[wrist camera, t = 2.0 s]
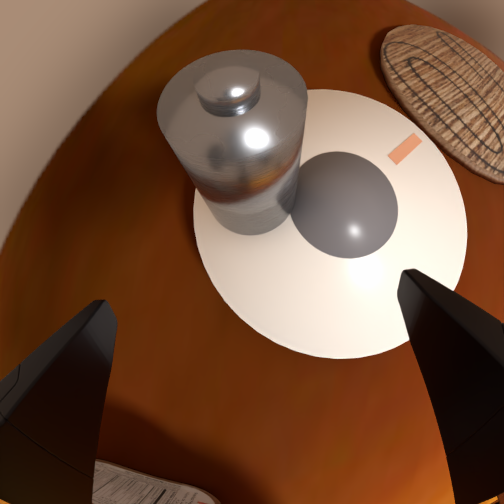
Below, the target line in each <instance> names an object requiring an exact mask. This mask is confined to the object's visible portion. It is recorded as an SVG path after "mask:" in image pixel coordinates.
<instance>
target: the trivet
mask: <svg viewBox="0 0 504 504" xmlns="http://www.w3.org/2000/svg"><path fill="white" fill-rule="evenodd" d="M380 68H381V71H382V73H383V76H384V78H385V81H386V83H387V86H388V88H389V89H390V91H391V92H392V94H393V95H394V97H395V98H396V100H397V101H398V103H399V104H400V106H401V108H402V109H403V111H404V112H405V113H406V114H407V115H408V116H409V117H410V118H411V119H412V121H413V122H414V123H415V124H416V125H417V126H418V127H419V129H420V130H422V131H423V132H424V133H425V134H426V135H427V137H428V138H429V139H430V140H431V141H433V142H434V143H435V144H436V145H437V146H438V147H439V148H440V149H441V150H442V151H443V152H444V153H446V154H447V155H448V156H449V157H450V158H452V159H453V160H455V161H456V162H458V163H459V164H460V165H462V166H463V167H465V168H466V169H467V170H469V171H470V172H471V173H473V174H475V175H477V176H479V177H482V178H484V179H486V180H488V181H490V182H492V183H494V184H500V185H504V72H503V71H502V70H501V69H500V68H499V67H498V66H497V65H496V64H495V63H494V62H493V61H491V60H490V59H489V58H488V57H487V56H486V55H484V54H483V53H482V52H480V51H479V50H478V49H476V48H475V47H473V46H472V45H470V44H469V43H467V42H465V41H464V40H462V39H460V38H458V37H456V36H454V35H452V34H449V33H447V32H445V31H442V30H439V29H435V28H432V27H429V26H421V25H405V26H399V27H397V28H395V29H393V30H392V31H390V32H388V33H387V35H386V37H385V39H384V41H383V43H382V46H381V49H380Z"/></svg>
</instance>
